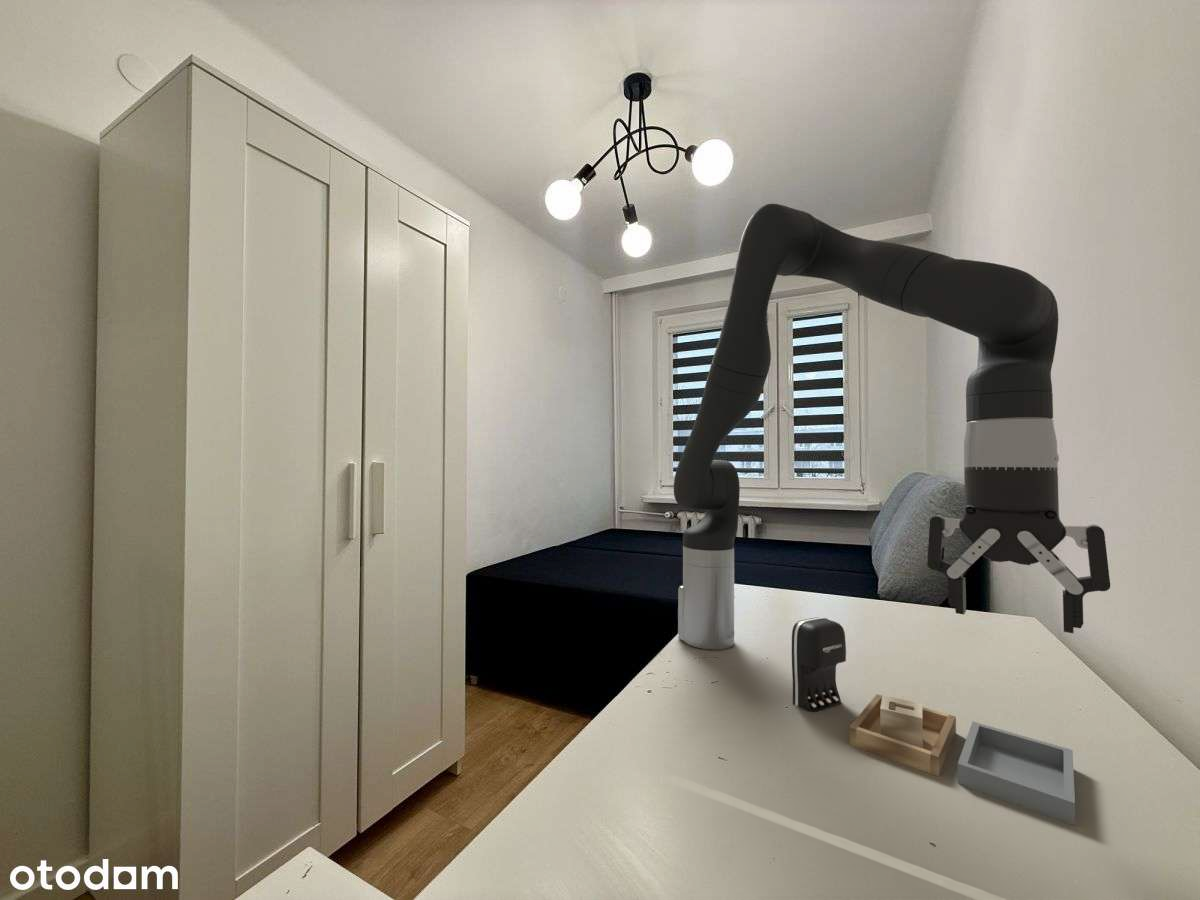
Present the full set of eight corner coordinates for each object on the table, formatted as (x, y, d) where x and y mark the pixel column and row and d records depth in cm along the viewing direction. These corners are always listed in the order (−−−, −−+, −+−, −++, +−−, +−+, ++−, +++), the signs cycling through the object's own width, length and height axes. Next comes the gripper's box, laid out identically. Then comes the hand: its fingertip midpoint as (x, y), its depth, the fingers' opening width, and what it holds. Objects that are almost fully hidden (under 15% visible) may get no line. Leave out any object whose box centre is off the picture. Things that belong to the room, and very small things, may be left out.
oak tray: (849, 749, 56) (849, 726, 56) (876, 713, 64) (876, 694, 64) (938, 782, 50) (938, 757, 50) (956, 738, 58) (955, 716, 59)
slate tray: (958, 789, 49) (957, 763, 49) (973, 743, 57) (972, 721, 57) (1075, 832, 43) (1074, 803, 43) (1073, 774, 52) (1072, 749, 52)
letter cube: (880, 744, 56) (880, 707, 56) (883, 729, 59) (882, 694, 59) (922, 755, 54) (922, 717, 54) (922, 739, 57) (922, 703, 57)
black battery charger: (814, 721, 62) (813, 629, 63) (790, 707, 65) (789, 620, 66) (851, 709, 65) (850, 621, 66) (826, 697, 69) (825, 614, 69)
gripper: (921, 463, 54) (923, 614, 53) (1109, 464, 44) (1114, 648, 43) (934, 464, 59) (936, 601, 59) (1103, 465, 50) (1108, 629, 49)
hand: (1011, 621), depth 51 cm, fingers open, 8 cm apart
